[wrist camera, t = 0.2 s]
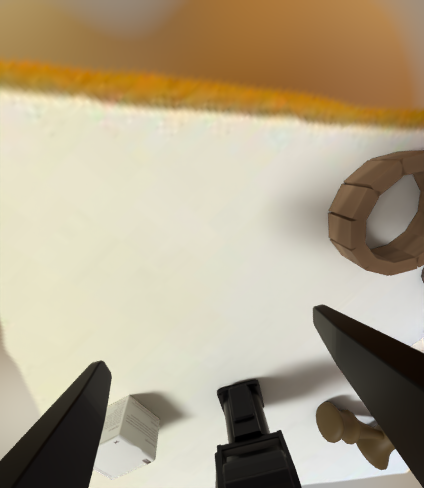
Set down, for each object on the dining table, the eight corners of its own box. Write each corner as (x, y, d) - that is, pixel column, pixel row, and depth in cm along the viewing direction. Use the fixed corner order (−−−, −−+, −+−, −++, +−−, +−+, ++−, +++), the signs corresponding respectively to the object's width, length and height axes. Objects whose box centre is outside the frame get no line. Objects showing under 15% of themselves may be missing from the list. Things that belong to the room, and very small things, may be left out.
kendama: (333, 383, 35) (414, 409, 39) (300, 416, 38) (379, 437, 42) (358, 425, 29) (450, 450, 34) (317, 460, 32) (406, 479, 37)
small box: (87, 414, 31) (69, 459, 27) (130, 392, 30) (119, 435, 26) (121, 437, 34) (110, 482, 29) (161, 418, 33) (156, 461, 29)
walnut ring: (424, 245, 26) (457, 257, 22) (329, 270, 26) (349, 286, 22) (441, 140, 21) (487, 136, 18) (327, 170, 21) (351, 172, 18)
